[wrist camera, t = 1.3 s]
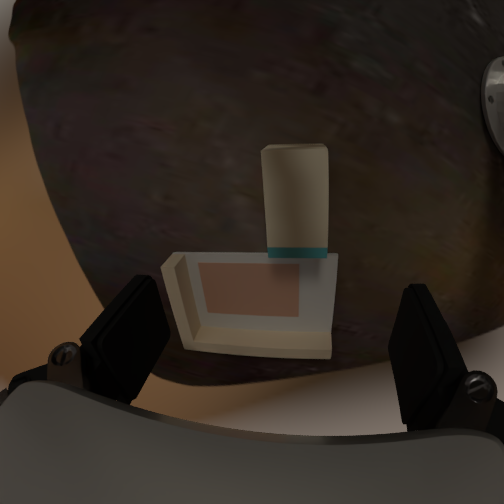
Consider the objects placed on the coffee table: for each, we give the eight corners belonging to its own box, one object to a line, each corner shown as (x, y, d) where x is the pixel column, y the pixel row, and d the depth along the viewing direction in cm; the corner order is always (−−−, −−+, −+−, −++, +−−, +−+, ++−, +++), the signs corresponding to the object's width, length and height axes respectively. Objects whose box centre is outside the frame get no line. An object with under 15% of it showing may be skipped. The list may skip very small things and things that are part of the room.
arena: (337, 253, 28) (341, 270, 25) (329, 338, 33) (330, 358, 30) (173, 252, 32) (160, 267, 29) (193, 331, 37) (184, 348, 34)
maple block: (323, 143, 24) (327, 149, 19) (323, 234, 28) (327, 258, 23) (268, 144, 25) (260, 150, 20) (274, 234, 29) (268, 257, 24)
